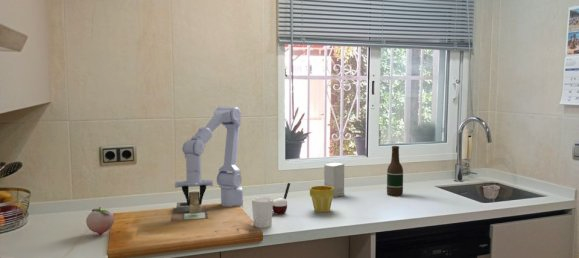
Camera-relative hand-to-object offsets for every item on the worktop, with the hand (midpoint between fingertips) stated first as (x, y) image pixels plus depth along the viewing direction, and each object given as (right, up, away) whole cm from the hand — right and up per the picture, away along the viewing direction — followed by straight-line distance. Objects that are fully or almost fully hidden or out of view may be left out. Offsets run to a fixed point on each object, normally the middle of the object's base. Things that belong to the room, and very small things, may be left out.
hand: (194, 204), depth 177 cm
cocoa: (+34, -6, +10) cm, 36 cm away
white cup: (+27, -7, -7) cm, 29 cm away
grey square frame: (-5, -4, +10) cm, 12 cm away
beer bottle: (+89, -3, +43) cm, 99 cm away
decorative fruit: (-30, -8, -18) cm, 36 cm away
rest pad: (0, -5, 0) cm, 5 cm away
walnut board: (-3, -6, +5) cm, 9 cm away
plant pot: (+51, -5, +14) cm, 53 cm away
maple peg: (0, -3, 0) cm, 3 cm away
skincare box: (+59, -3, +42) cm, 73 cm away
